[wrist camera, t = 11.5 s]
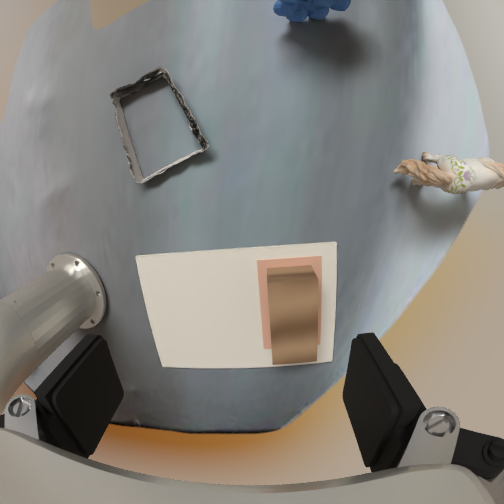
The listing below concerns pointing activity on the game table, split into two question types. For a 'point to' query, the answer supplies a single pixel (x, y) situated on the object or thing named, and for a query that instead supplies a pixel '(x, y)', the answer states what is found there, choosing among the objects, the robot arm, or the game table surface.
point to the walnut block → (293, 314)
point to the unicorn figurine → (454, 173)
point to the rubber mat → (229, 303)
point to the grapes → (308, 8)
